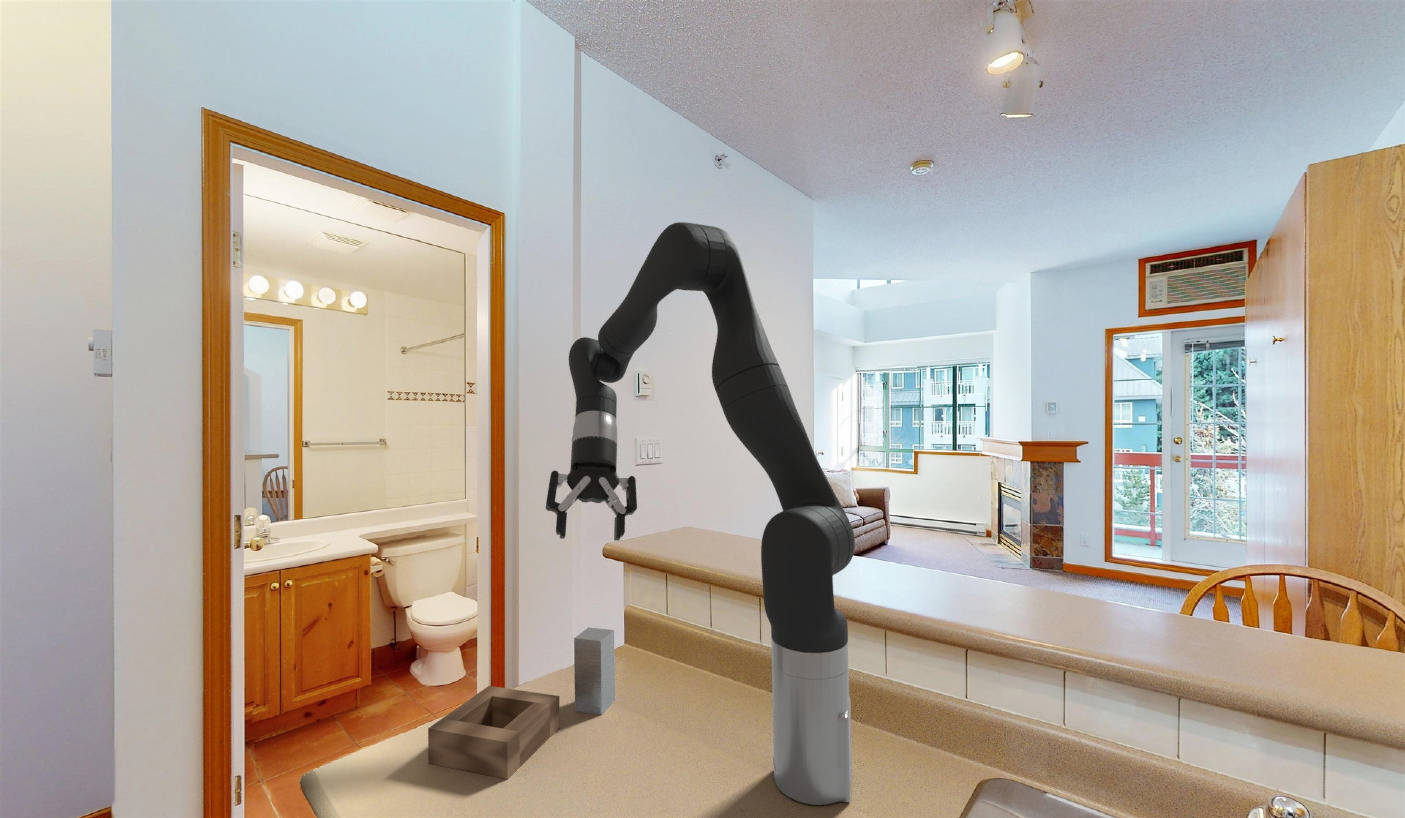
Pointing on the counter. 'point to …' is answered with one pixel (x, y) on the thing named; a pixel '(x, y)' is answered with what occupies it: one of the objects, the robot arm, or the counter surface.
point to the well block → (494, 731)
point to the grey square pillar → (594, 670)
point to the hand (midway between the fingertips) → (590, 538)
